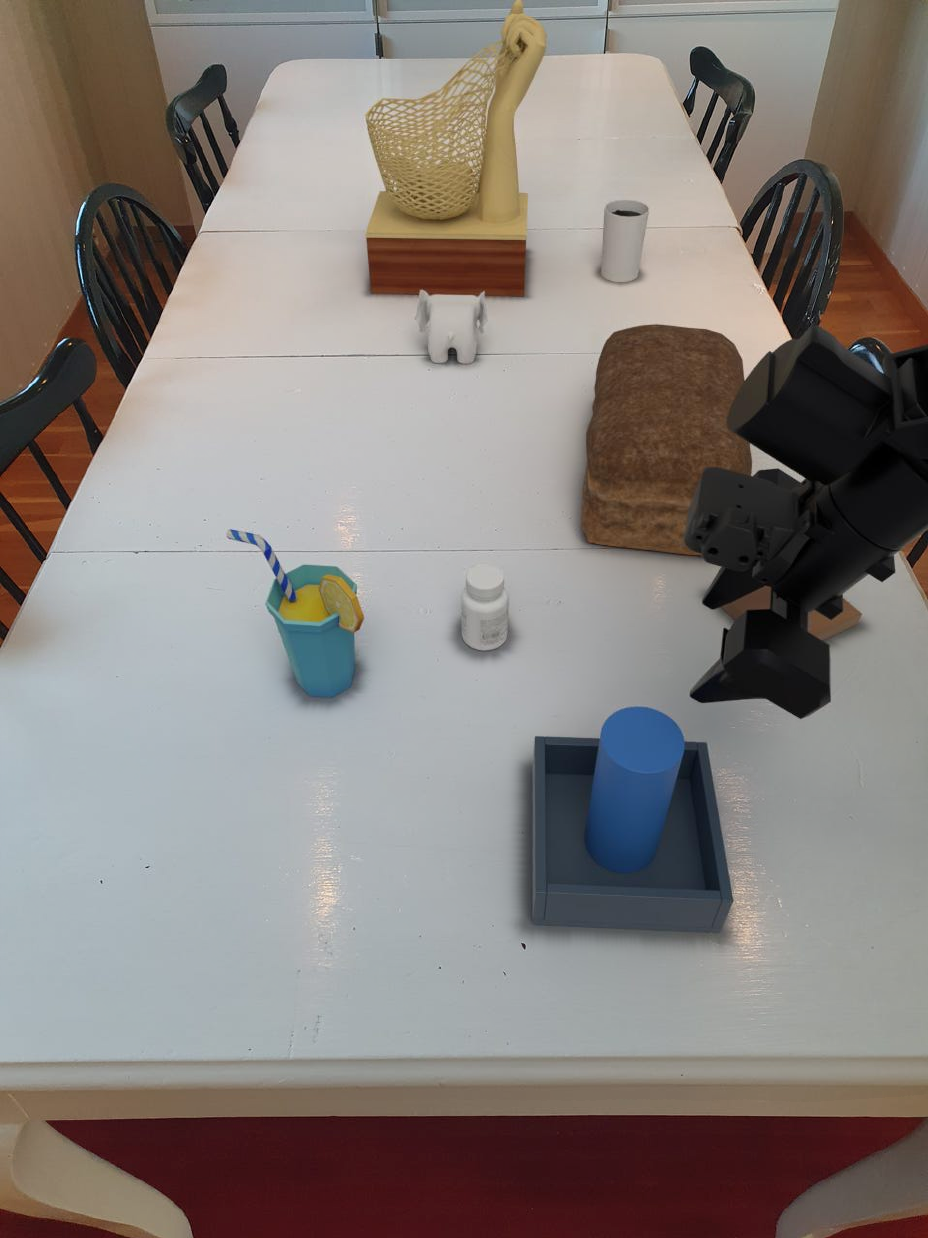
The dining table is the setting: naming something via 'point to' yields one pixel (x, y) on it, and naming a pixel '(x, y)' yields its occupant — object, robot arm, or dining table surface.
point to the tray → (646, 899)
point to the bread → (658, 433)
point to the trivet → (817, 621)
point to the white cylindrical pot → (623, 239)
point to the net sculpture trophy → (456, 182)
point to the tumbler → (632, 787)
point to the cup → (313, 620)
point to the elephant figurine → (451, 324)
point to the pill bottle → (484, 608)
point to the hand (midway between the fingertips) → (701, 649)
